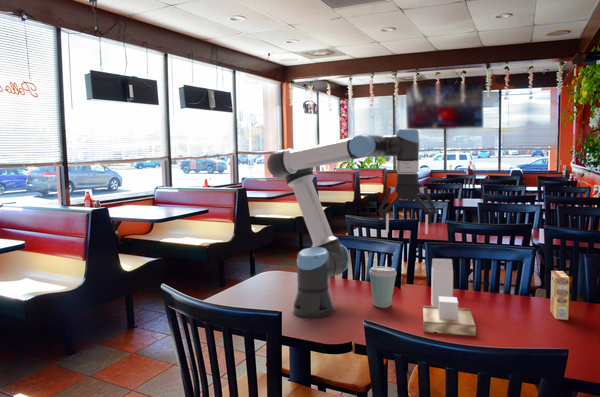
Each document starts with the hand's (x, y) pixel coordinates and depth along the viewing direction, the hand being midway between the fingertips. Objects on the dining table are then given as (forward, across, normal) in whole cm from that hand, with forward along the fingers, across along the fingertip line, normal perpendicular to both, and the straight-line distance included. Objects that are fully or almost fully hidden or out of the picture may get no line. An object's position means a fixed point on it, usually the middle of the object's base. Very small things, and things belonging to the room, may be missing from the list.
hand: (406, 232), depth 160 cm
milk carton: (+31, +13, +11) cm, 35 cm away
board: (+30, +14, -6) cm, 34 cm away
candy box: (+30, +53, +11) cm, 62 cm away
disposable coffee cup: (+31, -9, +10) cm, 34 cm away
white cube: (+28, +14, -6) cm, 32 cm away
